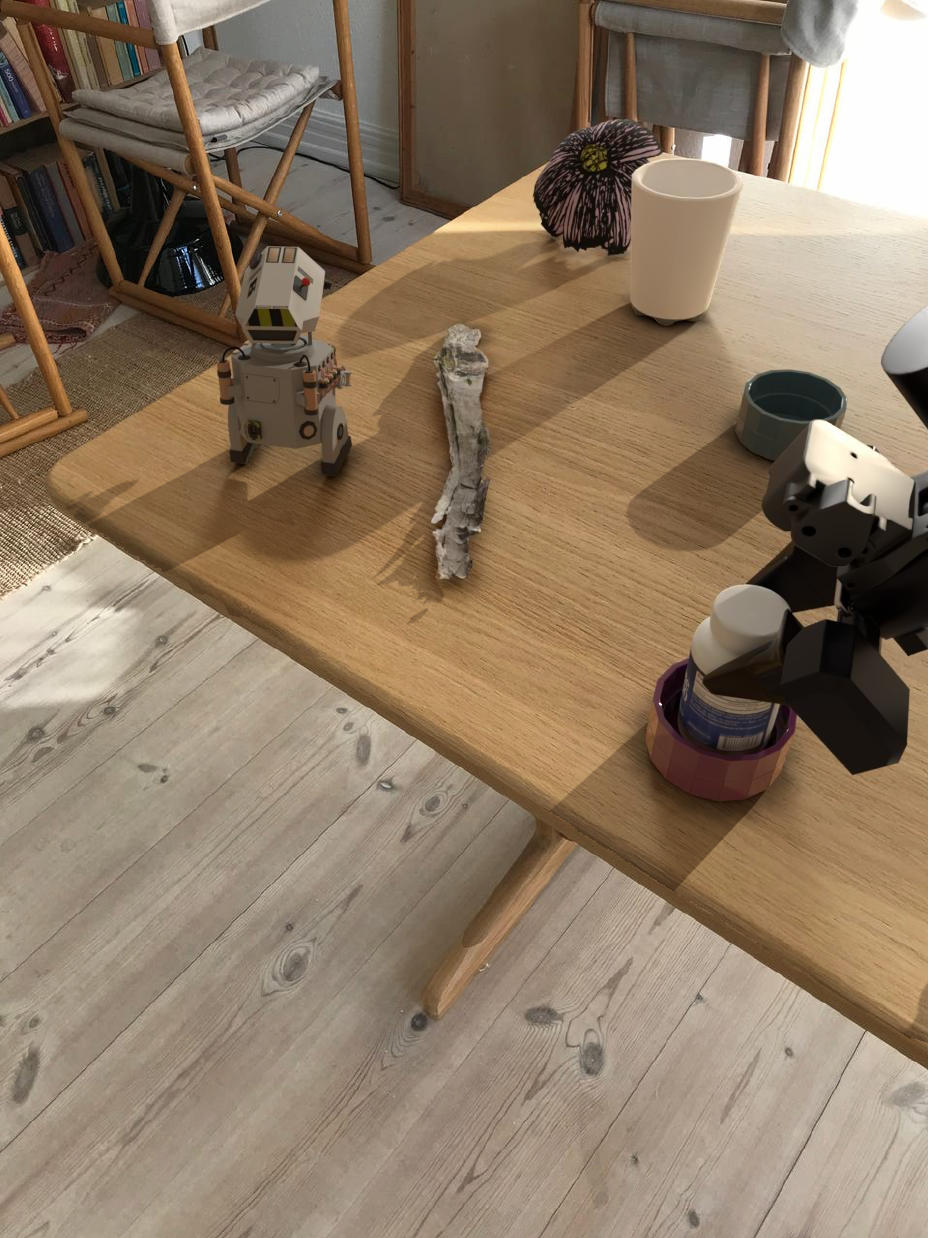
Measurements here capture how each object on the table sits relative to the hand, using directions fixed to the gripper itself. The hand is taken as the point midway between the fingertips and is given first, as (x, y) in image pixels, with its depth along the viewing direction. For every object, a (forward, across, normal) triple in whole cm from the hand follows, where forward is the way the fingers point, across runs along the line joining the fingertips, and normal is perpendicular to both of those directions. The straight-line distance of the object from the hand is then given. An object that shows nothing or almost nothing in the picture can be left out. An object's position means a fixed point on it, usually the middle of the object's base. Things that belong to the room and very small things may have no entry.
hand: (715, 648), depth 55 cm
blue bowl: (+5, -34, +7) cm, 36 cm away
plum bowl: (+5, 0, +7) cm, 8 cm away
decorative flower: (+22, -69, -11) cm, 73 cm away
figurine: (+31, -21, -20) cm, 43 cm away
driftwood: (+23, -26, -11) cm, 36 cm away
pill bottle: (+4, 0, +6) cm, 7 cm away
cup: (+14, -53, -3) cm, 55 cm away
